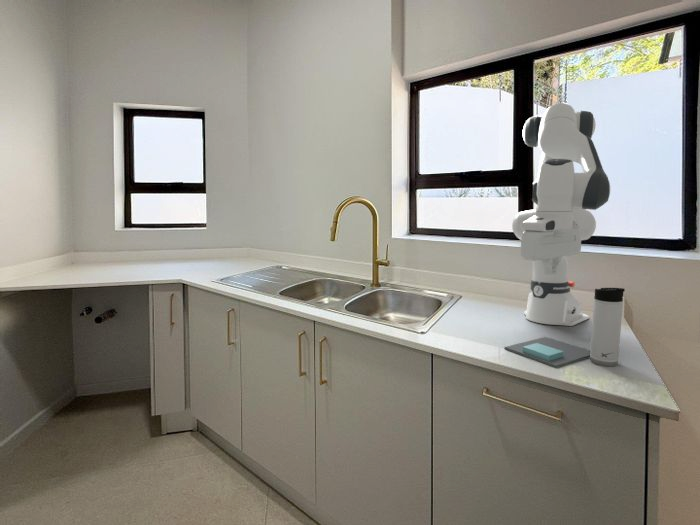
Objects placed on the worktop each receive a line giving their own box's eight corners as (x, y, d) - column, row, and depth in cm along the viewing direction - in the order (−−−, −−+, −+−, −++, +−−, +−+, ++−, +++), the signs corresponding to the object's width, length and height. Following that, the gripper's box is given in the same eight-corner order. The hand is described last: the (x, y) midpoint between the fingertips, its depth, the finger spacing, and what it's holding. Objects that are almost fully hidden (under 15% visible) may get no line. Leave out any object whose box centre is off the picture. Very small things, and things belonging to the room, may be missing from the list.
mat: (545, 338, 126) (545, 336, 126) (597, 354, 112) (598, 352, 112) (504, 349, 118) (504, 347, 118) (555, 367, 104) (556, 365, 104)
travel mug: (608, 368, 103) (614, 290, 100) (584, 359, 109) (589, 285, 106) (624, 364, 105) (631, 287, 102) (600, 356, 111) (605, 283, 108)
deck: (537, 342, 116) (522, 346, 114) (563, 351, 109) (549, 355, 107) (536, 347, 117) (522, 351, 114) (563, 356, 110) (548, 360, 107)
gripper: (567, 220, 115) (564, 268, 117) (517, 223, 106) (515, 276, 108) (589, 220, 110) (585, 271, 112) (538, 224, 100) (536, 280, 102)
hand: (550, 274), depth 110 cm, fingers closed
